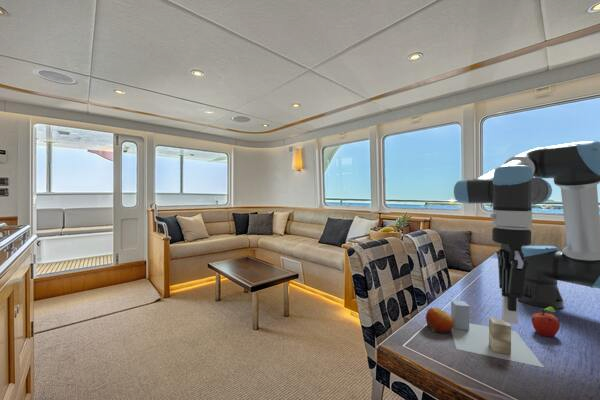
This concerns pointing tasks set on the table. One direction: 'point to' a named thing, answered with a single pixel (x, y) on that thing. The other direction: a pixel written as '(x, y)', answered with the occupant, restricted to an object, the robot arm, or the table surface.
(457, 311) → the slate block
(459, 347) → the felt mat
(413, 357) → the table surface
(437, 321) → the fruit
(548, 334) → the apple
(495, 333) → the beech block
